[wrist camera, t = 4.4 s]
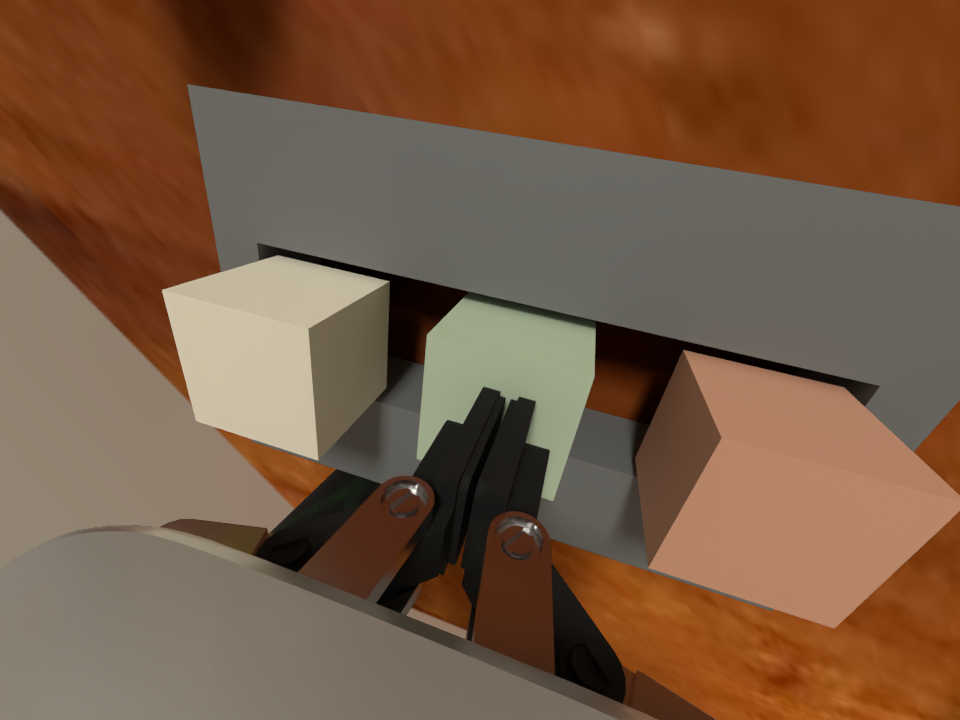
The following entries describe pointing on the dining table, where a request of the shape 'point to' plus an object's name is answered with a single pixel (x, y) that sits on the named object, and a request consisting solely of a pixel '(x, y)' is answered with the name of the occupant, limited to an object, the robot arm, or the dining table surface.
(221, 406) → the cream button
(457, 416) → the green button
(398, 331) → the dining table surface
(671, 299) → the console
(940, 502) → the terracotta button
